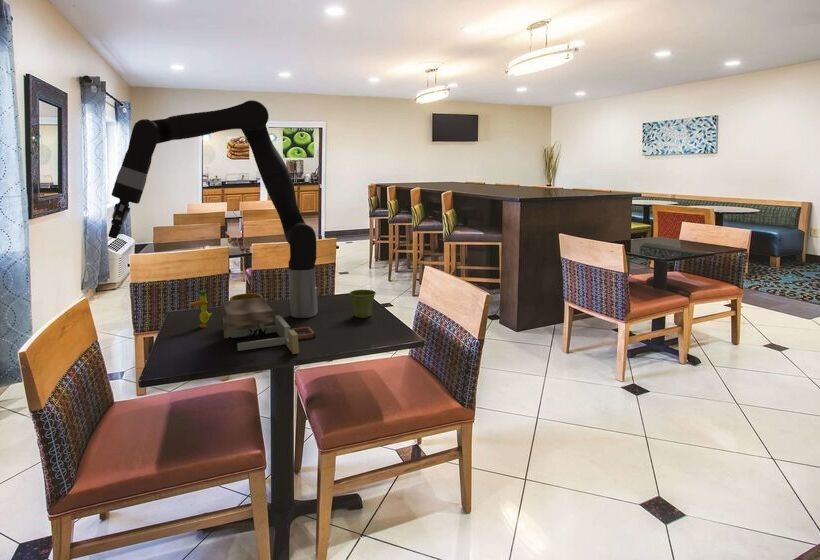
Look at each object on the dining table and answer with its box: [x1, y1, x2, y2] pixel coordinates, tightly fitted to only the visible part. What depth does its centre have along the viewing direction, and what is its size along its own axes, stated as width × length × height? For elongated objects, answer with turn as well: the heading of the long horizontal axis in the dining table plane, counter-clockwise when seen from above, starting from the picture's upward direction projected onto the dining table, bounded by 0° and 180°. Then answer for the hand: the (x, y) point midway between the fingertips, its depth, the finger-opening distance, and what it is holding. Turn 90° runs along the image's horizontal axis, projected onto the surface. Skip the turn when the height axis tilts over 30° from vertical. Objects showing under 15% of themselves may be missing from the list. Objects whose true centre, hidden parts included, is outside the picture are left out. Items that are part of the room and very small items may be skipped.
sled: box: [231, 314, 300, 355], centre depth 147 cm, size 15×24×6 cm, turn 26°
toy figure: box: [189, 291, 213, 329], centre depth 165 cm, size 7×4×12 cm, turn 126°
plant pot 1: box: [229, 292, 263, 301], centre depth 168 cm, size 10×10×10 cm
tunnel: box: [221, 297, 274, 339], centre depth 149 cm, size 12×17×12 cm
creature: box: [240, 324, 267, 343], centre depth 150 cm, size 8×5×8 cm
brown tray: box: [290, 326, 316, 341], centre depth 157 cm, size 7×8×1 cm
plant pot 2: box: [349, 289, 377, 319], centre depth 179 cm, size 9×9×9 cm
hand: (113, 236), depth 149 cm, fingers open, 8 cm apart
